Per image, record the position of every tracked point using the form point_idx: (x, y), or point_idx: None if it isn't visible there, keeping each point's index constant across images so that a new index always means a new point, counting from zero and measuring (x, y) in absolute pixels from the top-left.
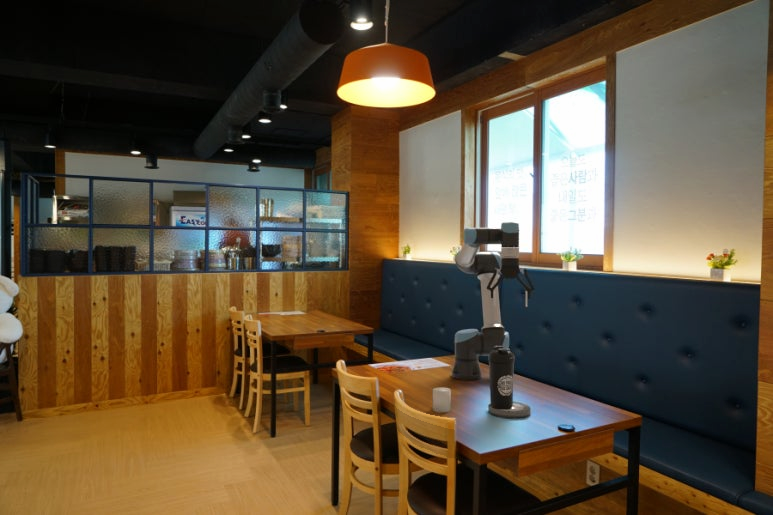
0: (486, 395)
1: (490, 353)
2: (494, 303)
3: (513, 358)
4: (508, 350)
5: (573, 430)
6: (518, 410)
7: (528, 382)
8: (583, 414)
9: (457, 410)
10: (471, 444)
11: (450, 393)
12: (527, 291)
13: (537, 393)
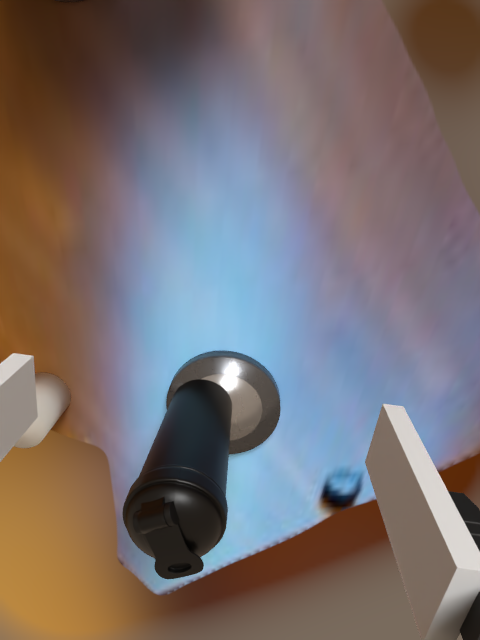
0: (162, 244)
1: (129, 534)
2: (14, 434)
3: (219, 538)
4: (196, 570)
5: (352, 502)
6: (244, 434)
7: (352, 4)
8: (421, 404)
9: (88, 395)
10: (140, 567)
11: (49, 424)
12: (463, 633)
13: (347, 199)
